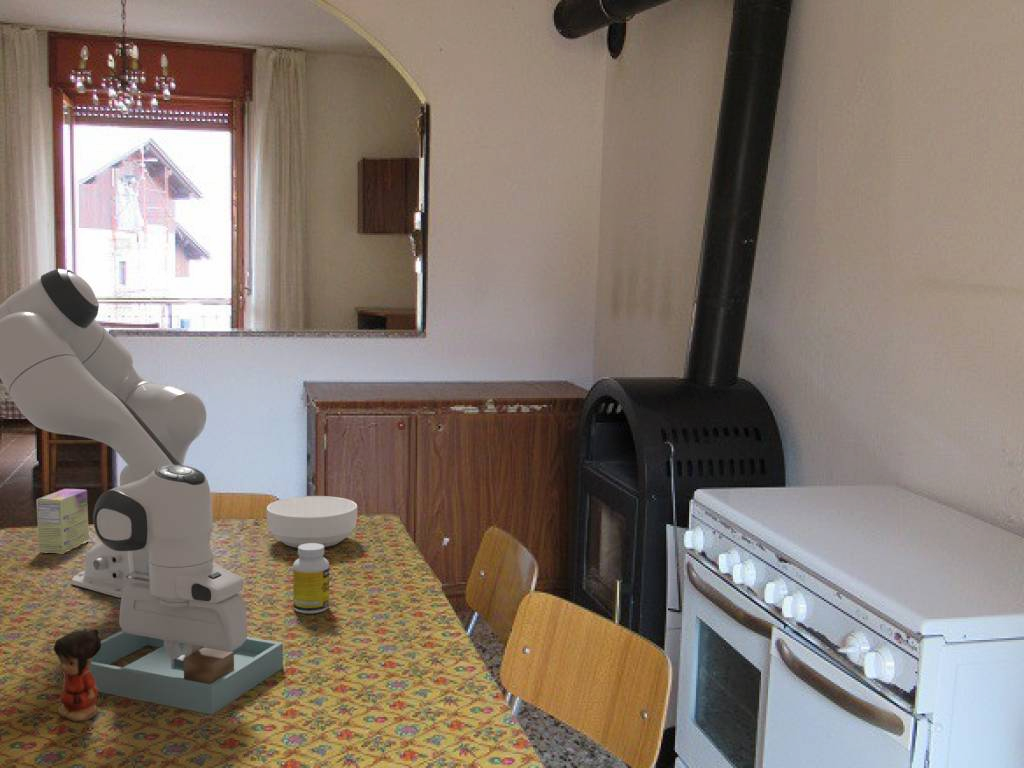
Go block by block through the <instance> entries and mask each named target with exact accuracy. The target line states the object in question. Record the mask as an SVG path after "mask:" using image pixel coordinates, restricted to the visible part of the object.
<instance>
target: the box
mask: <svg viewBox="0 0 1024 768" xmlns="http://www.w3.org/2000/svg"><path fill="white" fill-rule="evenodd" d="M36 518H37V519H36V522H37V538H38V540H37V542H38V553H39V552H49V553H65V552H66V551H67V550H70V549H71V548H73V547H75V546H77V545H79V544H80V543H83V542H84V541H86V540H88V539H89V540H90V535H89V510H88V490H87V489H80V488H78V489H77V488H63V489H62V488H61V489H59V490H58V491H55V492H53V493H50V494H47V495H44V496H42V497H39V498H36ZM65 554H66V553H65Z"/></svg>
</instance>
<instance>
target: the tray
mask: <svg viewBox="0 0 1024 768" xmlns="http://www.w3.org/2000/svg"><path fill="white" fill-rule="evenodd" d="M178 645H179V648H180V650H181V653H182V655H186V653H187V650H184V644H183V643H179V644H178ZM147 646H149V647H155V648H157V649H155V650H154V651H151V652H150V653H147V654H146V655H144V656H141V657H140V658H138V659H137V660H134V661H132V662H131V663H129V664H126V665H124V666H123V667H122V666H119V665H118V666H117V665H111V664H113V663H115V662H117V661H119V660H121V659H122V658H125V657H127V656H129V655H130V654H133V653H135V652H137V651H139V650H140V649H143V648H145V647H147ZM202 648H204V647H200V649H202ZM200 649H199V650H200ZM232 652H234V670H233V671H231V672H229V673H228V674H226V675H225V676H223V677H221V678H220V679H218V680H216V681H215V682H213V683H212V684H206V683H201V682H196V681H190V680H185V679H184V671H180V670H174V669H171V658H170V657H169V655H168V653H167V651H166V649H165V648H164V640H161V639H156V638H150V637H145V636H139V635H134V634H129V633H124V632H123V630H122V629H121V630H120V631H118V632H115V633H114V634H111V635H110V636H108V637H106V638H104V639H102V640H101V648H100V650H99V651H98V653H97V654H96V655H95V656H94V657H92V658H91V659H92V662H91V664H90V665H89V666H88V668H89V670H90V673H91V674H92V676H93V678H94V679H95V685H96V686H97V689H98V692H99V693H103V694H104V693H105V694H109V695H113V696H119V697H123V698H128V699H133V700H136V701H137V700H139V701H141V702H142V701H143V702H146V703H147V702H148V703H152V704H157V705H161V706H162V705H163V706H167V707H172V708H177V709H181V710H185V711H191V712H196V713H201V714H205V715H206V714H207V715H211V716H213V715H214V714H215V713H217V712H218V711H220V710H221V709H223V708H225V707H227V705H229V704H230V703H232V702H233V701H235V700H237V699H239V698H240V697H241V696H242V695H245V693H247V692H249V691H250V690H252V689H253V688H254V687H256V686H258V685H259V684H261V683H262V682H264V681H265V680H267V679H268V678H269V677H271V676H273V675H274V674H276V673H278V672H279V671H280V670H282V669H283V668H284V643H283V642H280V641H273V640H267V639H261V638H255V637H251V636H247V638H246V640H245V642H244V643H243V644H242V645H241V646H240V647H238V648H237V649H235V650H233V651H232ZM64 677H65V673H63V683H64V684H65V678H64ZM64 684H63V685H64Z"/></svg>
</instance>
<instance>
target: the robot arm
mask: <svg viewBox="0 0 1024 768" xmlns="http://www.w3.org/2000/svg"><path fill="white" fill-rule="evenodd" d="M99 307H100V304H99V302H98V299H97V297H96V295H95V292H94V291H93V289H92V287H91V286H90V284H89V283H88V282H87V281H86V280H85V279H83V278H82V277H81V276H79V275H78V274H76V273H75V272H73V271H72V270H70V269H63V268H57V269H53V270H49V271H48V272H46V273H44V274H42V275H40V278H39V279H37V280H35V281H33V282H32V283H30V284H28V285H26V286H25V287H23V288H21V289H19V290H17V291H16V292H15V293H13V294H12V295H9V297H7V298H6V300H5V301H4V302H2V303H1V304H0V383H2V384H3V386H4V388H5V389H6V391H7V393H8V394H9V396H10V398H11V399H12V401H13V403H14V404H15V406H16V407H17V409H18V411H20V413H21V415H23V417H25V418H26V419H27V420H28V421H29V423H31V424H32V425H34V426H35V427H36V428H38V429H39V430H44V431H46V432H50V433H53V434H58V435H59V434H60V435H66V436H67V435H68V436H76V437H82V438H86V439H91V440H94V441H98V442H101V443H103V444H105V445H107V446H108V447H110V448H112V449H113V450H114V451H115V452H116V453H117V454H118V455H119V456H120V458H122V460H123V461H124V462H125V463H126V464H127V465H125V466H124V467H123V468H122V470H121V472H120V474H119V486H115V487H113V488H111V489H108V490H105V491H103V492H102V494H100V496H99V497H98V498H97V500H96V502H95V504H94V509H93V514H92V520H93V521H92V522H93V527H94V530H95V533H96V535H97V537H98V539H99V540H100V541H98V542H97V543H95V545H94V546H92V547H91V548H90V549H89V550H88V552H87V554H86V556H85V561H84V570H83V571H80V572H78V573H76V574H75V575H73V577H72V578H71V585H74V586H76V587H80V588H84V589H87V590H91V591H94V592H97V593H101V594H104V595H108V596H111V597H115V598H117V599H118V598H119V599H120V606H119V607H120V608H119V620H118V621H119V623H118V624H119V627H120V628H121V631H122V630H123V632H124V633H129V634H134V635H139V636H145V637H150V638H156V639H161V640H164V648H165V649H166V651H167V653H168V655H169V657H170V658H171V669H174V670H180V671H184V658H186V657H188V656H189V655H191V654H193V653H195V652H197V651H199V649H200V647H205V648H210V649H216V650H221V651H227V652H230V651H233V650H235V649H237V648H238V647H240V646H241V645H242V644H243V643H244V642H245V640H246V638H247V637H248V615H247V607H246V603H245V600H244V599H243V597H242V596H241V594H239V593H240V592H242V591H243V589H244V580H243V578H242V577H240V576H239V575H237V574H236V573H234V572H231V571H230V570H228V569H227V568H224V567H223V566H221V565H219V564H218V563H217V562H215V561H213V560H214V559H213V558H214V555H213V550H212V547H211V542H210V541H211V535H212V531H213V505H212V504H213V503H212V494H211V489H210V486H209V482H208V479H207V476H206V474H204V473H203V472H202V471H201V470H199V469H197V468H196V467H192V466H190V465H189V466H188V465H184V463H185V460H186V456H187V453H188V450H189V448H190V446H191V444H192V443H193V442H195V440H196V439H197V438H198V437H199V436H200V435H201V434H202V432H203V430H204V429H205V425H206V423H207V410H206V406H205V404H204V402H203V401H202V399H201V398H200V397H199V396H198V395H196V394H194V393H192V392H191V391H188V390H187V389H184V388H182V387H179V386H177V385H175V386H174V385H168V384H162V383H155V382H151V381H149V379H145V378H144V377H142V376H141V375H140V374H139V373H138V372H137V371H136V370H135V368H134V366H133V363H134V362H133V361H134V360H133V357H132V354H131V353H130V351H129V350H128V349H127V348H126V347H125V346H123V344H121V343H120V342H119V340H118V339H116V338H115V337H114V335H112V334H111V333H110V332H109V331H108V330H107V329H106V328H104V326H103V325H102V324H100V322H99V321H98V320H96V317H98V313H99V309H100V308H99ZM148 563H149V573H145V566H146V565H147V564H148ZM179 643H183V644H184V650H187V653H186V655H182V653H181V650H180V648H179V645H178V644H179Z"/></svg>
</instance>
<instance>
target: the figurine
mask: <svg viewBox="0 0 1024 768" xmlns="http://www.w3.org/2000/svg"><path fill="white" fill-rule="evenodd" d="M100 648H101V637H100V632H99V630H98V629H97V628H93V629H92V628H90V629H86V628H85V629H83V630H79V629H78V630H74V631H71V632H70V633H67V634H65V635H63V636H62V637H61V638H59V639H57V640H56V641H55V644H54V646H53V651H54V652H55V654H56V656H57V657H58V659H59V666H60V668H61V671H62V672H63V674H64V673H65V677H64V676H63V679H64V678H65V684H63V686H62V691H61V693H60V701H61V703H62V705H60V707H59V708H58V711H57V714H58V715H59V716H61V717H63V718H65V720H66V719H67V720H70V721H72V722H75V723H81V722H86V721H88V720H91V719H92V718H94V717H95V716H96V715H97V714H98V712H99V711H98V707H97V705H96V701H97V699H98V695H99V693H98V689H97V686H96V685H95V679H94V678H93V676H92V674H91V673H90V670H89V668H88V666H89V665H90V664H91V662H92V659H91V658H92V657H94V656H95V655H96V654H97V653H98V651H99V650H100Z"/></svg>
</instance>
